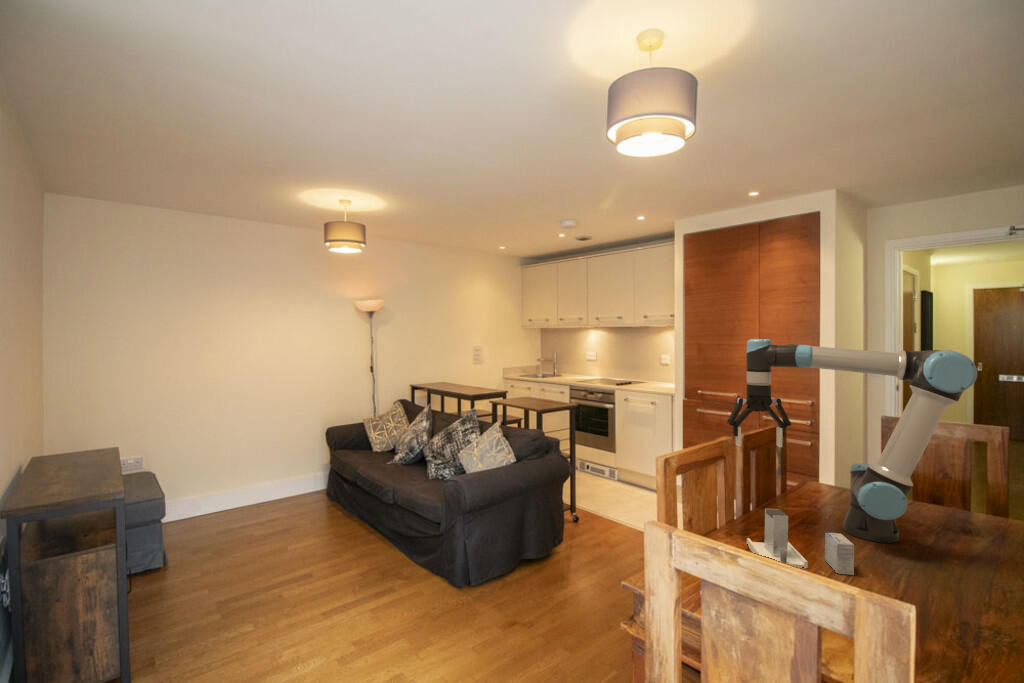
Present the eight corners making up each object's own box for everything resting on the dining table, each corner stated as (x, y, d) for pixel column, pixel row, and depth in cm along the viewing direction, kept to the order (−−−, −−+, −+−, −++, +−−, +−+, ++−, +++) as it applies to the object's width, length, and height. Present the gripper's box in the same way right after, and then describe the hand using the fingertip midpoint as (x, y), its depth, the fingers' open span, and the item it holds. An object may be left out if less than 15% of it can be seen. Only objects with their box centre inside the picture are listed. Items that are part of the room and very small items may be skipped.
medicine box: (854, 576, 135) (855, 544, 135) (836, 574, 136) (836, 543, 136) (841, 563, 143) (841, 533, 142) (824, 561, 143) (824, 531, 143)
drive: (778, 548, 149) (779, 508, 149) (787, 557, 143) (788, 516, 143) (764, 547, 150) (764, 508, 150) (772, 556, 144) (773, 515, 144)
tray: (787, 547, 152) (788, 534, 152) (807, 568, 139) (807, 554, 139) (746, 544, 154) (746, 531, 154) (762, 565, 140) (762, 551, 140)
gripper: (791, 383, 170) (791, 444, 171) (717, 382, 172) (717, 443, 172) (802, 385, 163) (802, 449, 163) (725, 384, 165) (725, 447, 165)
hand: (758, 446), depth 168 cm, fingers open, 13 cm apart
